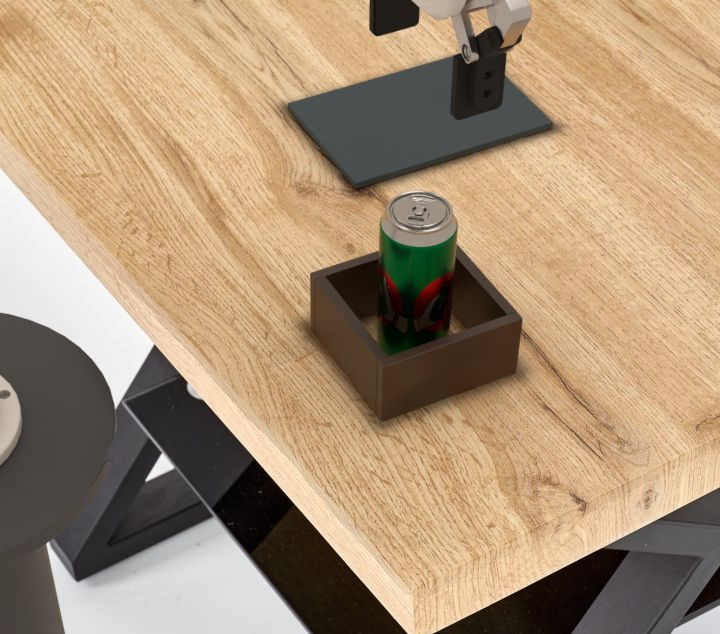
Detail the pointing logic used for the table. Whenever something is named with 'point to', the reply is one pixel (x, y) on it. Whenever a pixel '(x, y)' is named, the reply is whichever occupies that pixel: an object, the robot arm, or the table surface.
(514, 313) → the frame
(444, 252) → the soda can
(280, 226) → the table surface
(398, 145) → the mat
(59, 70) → the table surface
